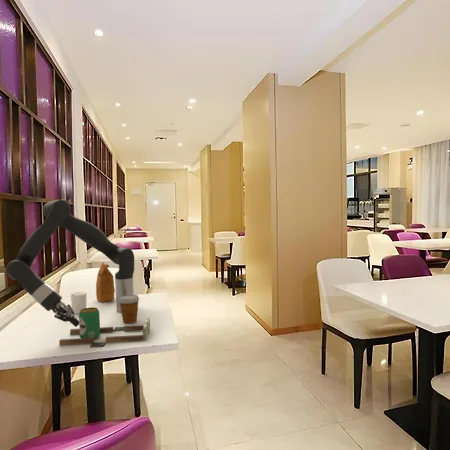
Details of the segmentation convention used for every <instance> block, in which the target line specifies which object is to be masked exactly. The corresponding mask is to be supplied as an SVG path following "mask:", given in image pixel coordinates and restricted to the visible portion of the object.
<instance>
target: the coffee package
mask: <svg viewBox="0 0 450 450" xmlns="http://www.w3.org/2000/svg"><path fill="white" fill-rule="evenodd" d="M109 267H110V265H109V264H105V263H104V262H101V264H100V266H99V270H98V272H97V276H96V282H95V291H96V292H95V295H96V300H97V302H98V301H99V303H105V302H108V301H109V302H110V301H113V300H115V293H116V288H115V281H114V279H115V278H114V275H113V274H112V272H111V270H109Z"/></svg>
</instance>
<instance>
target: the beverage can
mask: <svg viewBox="0 0 450 450" xmlns="http://www.w3.org/2000/svg"><path fill="white" fill-rule="evenodd" d="M100 318H101V317H100V310H99V308H98V307H94V306H93V307H91V306H90V307H86V308H84V309H82V310H80V313H79V314H78V320H79V325H78V326H79V328H80V334H79V338H92V337H94V341H95V340H98V339H99V338H100V335H101V333H100V327H101V325H100V324H101V320H100Z"/></svg>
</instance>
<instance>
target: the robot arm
mask: <svg viewBox="0 0 450 450" xmlns="http://www.w3.org/2000/svg"><path fill="white" fill-rule="evenodd" d="M42 212H43V213H42V214H43V215H44V216H45V218H46V219H45V220H44V221H43V222H42V223H41V224H40V226H38V228H37V229H35V230H34V231H33V232H32V233H31V234H30V235H29V236H28V238H27V239H26V240H25V242H24V243H23V245H22V246H21V247H20V249H19V251H18V254H17V256H16V258H15V259H13V260H11V261H9V263H8V264H7V265H6V274H7V277H8V278H9V279H11V280H13V281H17V282H18V283H19V284H20V285H21V286H22V288H23V290H24V291H26V292H27V293H28V294H29V295H30V297H32V298H33V299H34V300H35V301H36V302H37V303H38V304H39V305H40V306H41V307H42V308H44V309H45V310H46V312H49V311H52V312H53V313H54V314H55V315H53V317H54V318H55V319H57V320H59V321H62V322H65V323H67V322H68V323H70V324H71V325H73V326H74V327H75V328H77V327H78V326H79V319H78V318H76V317H75V315H76V314H75V313H74V311H73V309H72V305H71V304H66V303H64V302H63V301H62V299H63V296H62V295H61V294H59V293H58V292H57V291H56V290H55V289H53V288H52V287H51V285H49V284H47V283H46V282H45V281H44V280H42V279H41V277H39V276H37V275H36V274H35V272H34V271H33V270H32V268H31V267H32V265H33V263H34V261H35V259H36V258H37V257H38V255H39V254H40V252H41V251H42V249H43V248H44V246H45V245H46V244H47V242H48V241H49V239H50V238H51V237H52V235H53V234H54V233H55V231H57V229H58V228H59V227H62V228H63V229H66V230H67V231H68V232H70V233H71V234H72V235H74V236H75V237H77V238H78V239H80V240H81V241H82V242H83V243H85V244H87V245H88V246H89V247H91V248H94V249H95V250H96V251H99V252H100V253H102V254H103V255H104V256H105V257H107V258H108V259H109V260H110V261H111V262H112V263H113V264H116V265H117V266H118V271H117V272H115V274H114V279H115V281H114V287H115V299H116V300H115V309H116V312H118V313H121V307H120V303H119V298H120V297H121V296H124V295H135V294H134V273H135V253H134V251H133V250H132V249H131V248H128V247H122V246H121V247H120V246H118V245H116V244H114V243H113V242H111V241H110V239H109V238H108V237H107V235H106V234H105V232H103V231H102V230H101V229H100V228H98V227H97V226H96V225H94V224H93V223H91V222H88V221H85V220H83V219H80V218H78V217H75V216H74V215H73V214H71V213H72V208H71V204H70V203H69V202H68V201H67V200H65V199H56V200H55V199H54V200H52V201H51V200H50V201H48V202H47V203H45V204H44V205H43V207H42Z"/></svg>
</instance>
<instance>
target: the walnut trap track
mask: <svg viewBox="0 0 450 450" xmlns="http://www.w3.org/2000/svg"><path fill="white" fill-rule="evenodd" d="M140 330H143V331H142V334H131V335H127V334H126V335H115V336H114V335H113V336H106V337H105V339H104V340H105V341H99V342H96V341H95V340H94V337H92V338H80V337H78V338H77V337H76V338H61V339H60V340H59V341H58V342H59V346H75V345H77V346H78V345H90V346H89V348H103V347H104V346H105V344H108V343H109V344H110V343H127V342H126V341H129V342H140V341H142V340H147V339H146V338H148V336H149V332H150V330H151V320H150V317H147V318H146V320H145V322H144V324H138V325H136V324H135V325H124V326H116V327H114V326H100V334H105V333H106V334H107V333H113V332H120V331H125V332H140ZM69 334H70V335H80V327H79V328H71V329H70V330H69ZM147 335H148V336H147ZM142 342H143V341H142Z"/></svg>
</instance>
